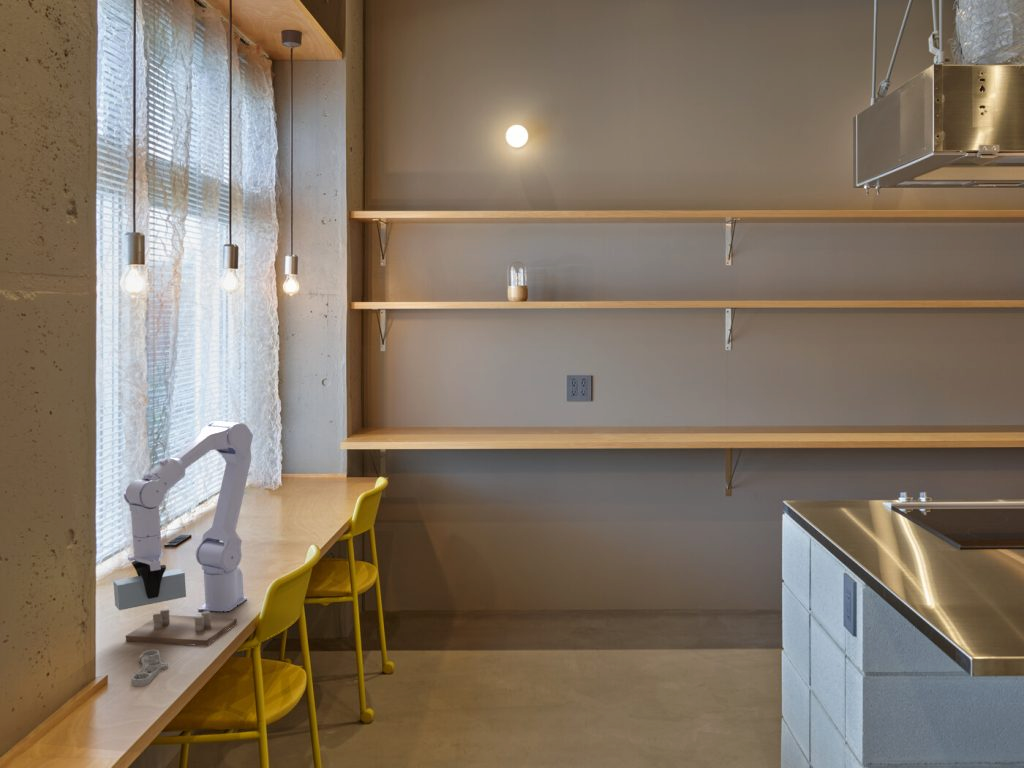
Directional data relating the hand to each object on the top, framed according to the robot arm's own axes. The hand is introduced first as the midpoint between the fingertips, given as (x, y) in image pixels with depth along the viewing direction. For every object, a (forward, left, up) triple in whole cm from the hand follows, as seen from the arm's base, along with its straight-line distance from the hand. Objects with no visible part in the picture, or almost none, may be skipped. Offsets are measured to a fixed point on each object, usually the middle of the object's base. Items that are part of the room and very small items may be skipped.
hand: (150, 594), depth 201 cm
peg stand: (0, +7, -8) cm, 11 cm away
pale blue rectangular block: (0, 0, -2) cm, 2 cm away
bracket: (+19, +11, -9) cm, 24 cm away
